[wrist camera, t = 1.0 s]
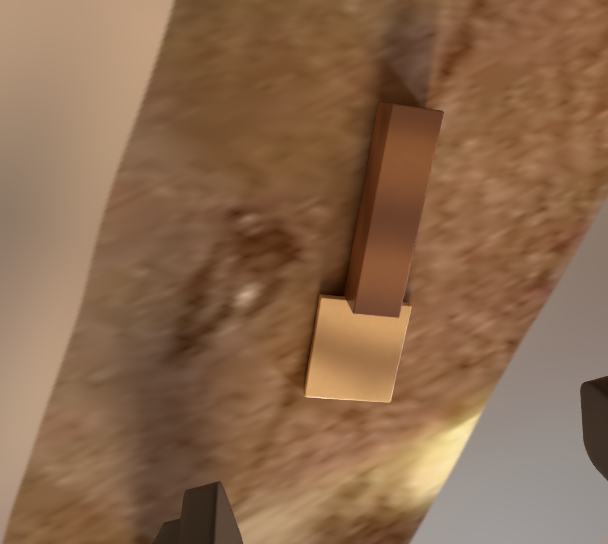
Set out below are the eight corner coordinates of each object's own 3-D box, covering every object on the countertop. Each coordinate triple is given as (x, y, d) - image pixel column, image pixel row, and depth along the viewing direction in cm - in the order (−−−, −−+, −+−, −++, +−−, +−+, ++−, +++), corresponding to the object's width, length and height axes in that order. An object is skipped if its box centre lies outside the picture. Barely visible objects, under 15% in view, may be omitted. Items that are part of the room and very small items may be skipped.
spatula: (351, 97, 26) (363, 98, 23) (451, 113, 26) (472, 115, 24) (303, 392, 30) (308, 418, 28) (388, 398, 31) (400, 423, 29)
